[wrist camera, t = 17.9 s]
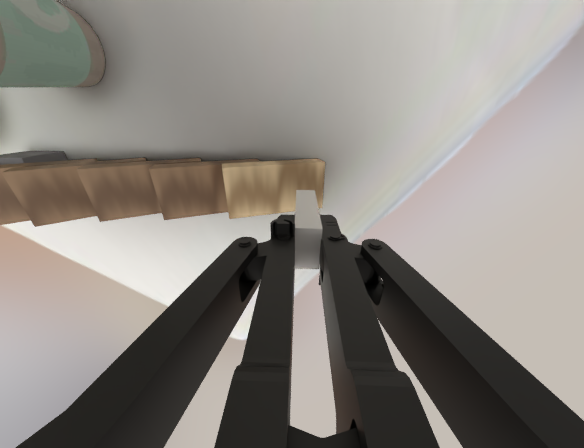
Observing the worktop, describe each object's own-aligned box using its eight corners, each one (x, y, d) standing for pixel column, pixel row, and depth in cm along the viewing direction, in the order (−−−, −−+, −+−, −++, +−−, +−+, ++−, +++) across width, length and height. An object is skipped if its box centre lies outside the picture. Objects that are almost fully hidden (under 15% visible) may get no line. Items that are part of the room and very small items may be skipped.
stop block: (29, 151, 24) (-20, 157, 20) (63, 151, 23) (21, 157, 20) (56, 201, 26) (17, 214, 23) (87, 201, 26) (53, 215, 23)
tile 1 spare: (317, 158, 23) (221, 163, 20) (325, 161, 21) (221, 168, 19) (314, 201, 25) (228, 211, 23) (321, 207, 23) (229, 218, 21)
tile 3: (199, 157, 23) (85, 165, 20) (201, 160, 22) (75, 169, 18) (208, 200, 26) (106, 213, 22) (209, 205, 24) (100, 221, 20)
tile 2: (257, 158, 23) (153, 164, 20) (260, 161, 21) (148, 168, 18) (260, 201, 25) (167, 212, 22) (263, 207, 24) (164, 220, 21)
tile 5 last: (96, 158, 23) (-56, 168, 18) (94, 161, 21) (-74, 173, 16) (113, 201, 25) (-17, 221, 20) (112, 207, 24) (-30, 229, 19)
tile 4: (145, 157, 23) (11, 167, 19) (145, 160, 22) (0, 172, 17) (157, 199, 26) (42, 218, 21) (159, 204, 24) (34, 226, 19)
